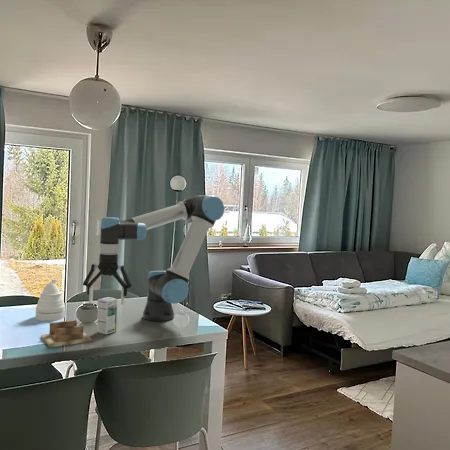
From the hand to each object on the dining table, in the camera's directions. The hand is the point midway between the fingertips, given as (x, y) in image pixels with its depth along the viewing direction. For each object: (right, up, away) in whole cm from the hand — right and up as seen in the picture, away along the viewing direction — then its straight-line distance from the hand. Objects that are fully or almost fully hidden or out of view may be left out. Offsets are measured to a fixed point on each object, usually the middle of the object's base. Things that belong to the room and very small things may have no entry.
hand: (106, 303), depth 185 cm
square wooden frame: (-13, -13, -11) cm, 21 cm away
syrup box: (0, -13, +1) cm, 13 cm away
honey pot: (-32, -11, +20) cm, 39 cm away
